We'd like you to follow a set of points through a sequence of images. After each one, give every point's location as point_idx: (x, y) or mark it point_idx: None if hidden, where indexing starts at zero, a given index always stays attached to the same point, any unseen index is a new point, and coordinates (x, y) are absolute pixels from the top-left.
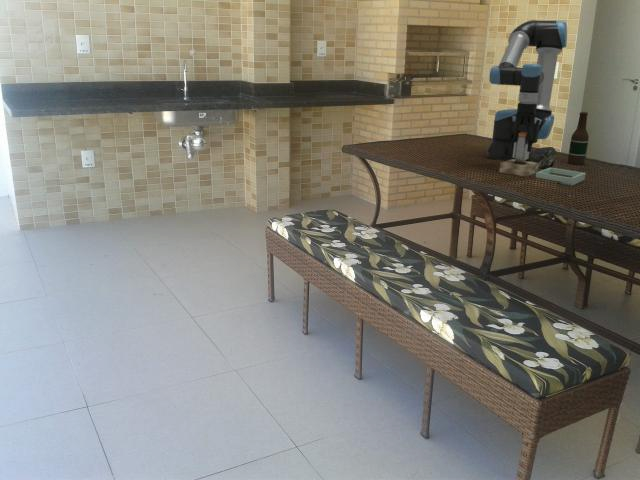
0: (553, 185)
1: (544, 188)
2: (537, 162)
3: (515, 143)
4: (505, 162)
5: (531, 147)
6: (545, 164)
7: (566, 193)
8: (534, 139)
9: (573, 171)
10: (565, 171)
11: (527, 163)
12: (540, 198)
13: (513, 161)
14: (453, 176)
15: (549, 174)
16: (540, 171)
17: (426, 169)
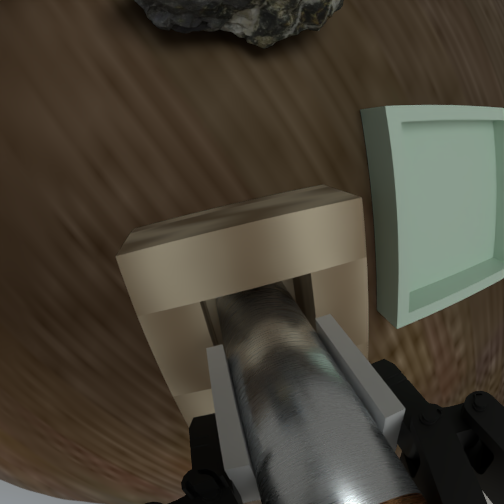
0: (454, 317)
1: (439, 376)
2: (223, 16)
3: (256, 493)
4: (198, 402)
5: (409, 388)
6: (304, 29)
7: (488, 355)
8: (481, 457)
9: (488, 117)
10: (459, 119)
11: (314, 295)
12: None
13: (199, 333)
14: (145, 500)
15: (450, 299)
16: (402, 284)
17: (32, 484)
